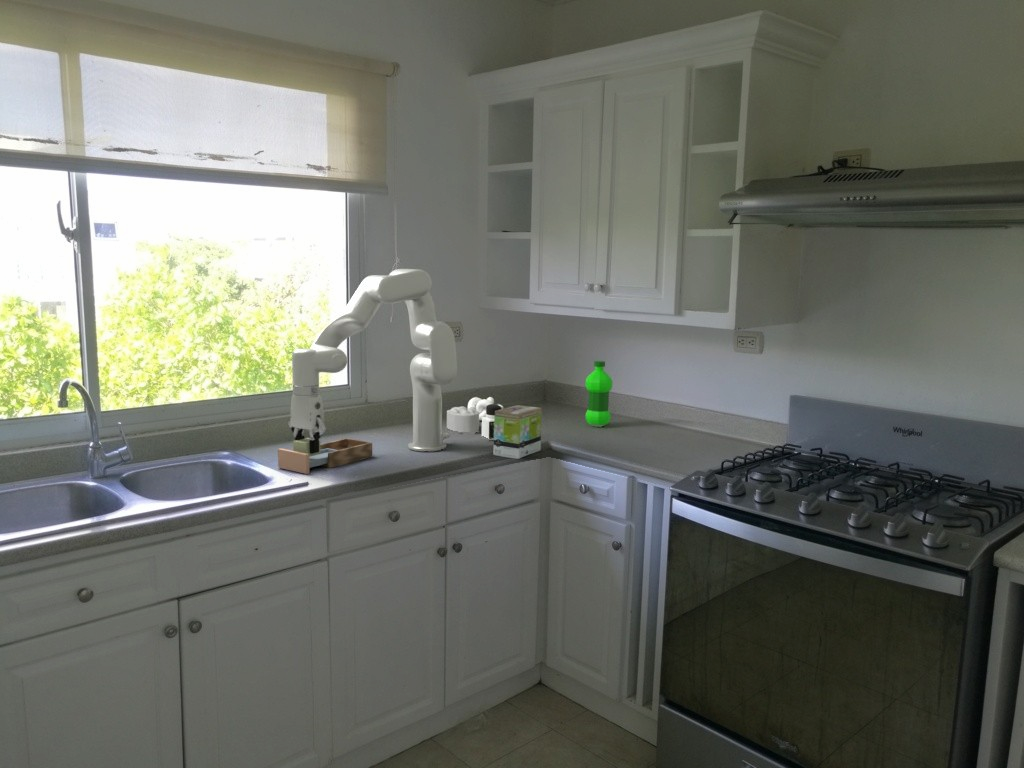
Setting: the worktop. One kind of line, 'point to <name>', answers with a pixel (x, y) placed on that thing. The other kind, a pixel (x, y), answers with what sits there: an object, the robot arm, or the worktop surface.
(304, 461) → the wooden drawer
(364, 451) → the organiser box
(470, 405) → the white knobbly figure
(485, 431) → the medicine bottle
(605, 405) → the plastic bottle
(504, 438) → the tea box
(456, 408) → the lumpy-topped squat cylinder
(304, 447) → the olive block
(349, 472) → the worktop surface
